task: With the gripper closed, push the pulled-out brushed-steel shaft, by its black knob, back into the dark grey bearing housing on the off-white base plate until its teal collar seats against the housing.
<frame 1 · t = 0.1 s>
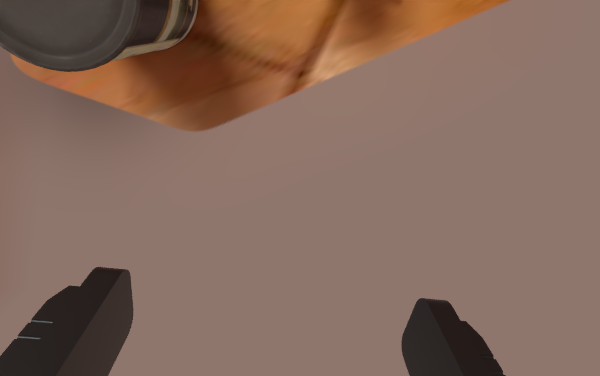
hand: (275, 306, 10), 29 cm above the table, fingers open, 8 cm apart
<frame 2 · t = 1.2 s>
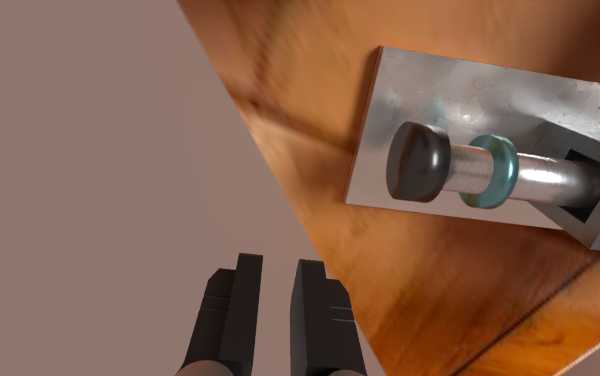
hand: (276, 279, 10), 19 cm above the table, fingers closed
housing: (571, 159, 30), on the table
shaft: (528, 178, 23), point 6 cm above the table, slide at 6.0 cm
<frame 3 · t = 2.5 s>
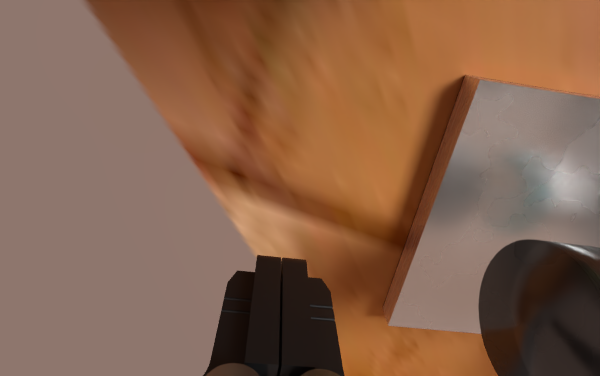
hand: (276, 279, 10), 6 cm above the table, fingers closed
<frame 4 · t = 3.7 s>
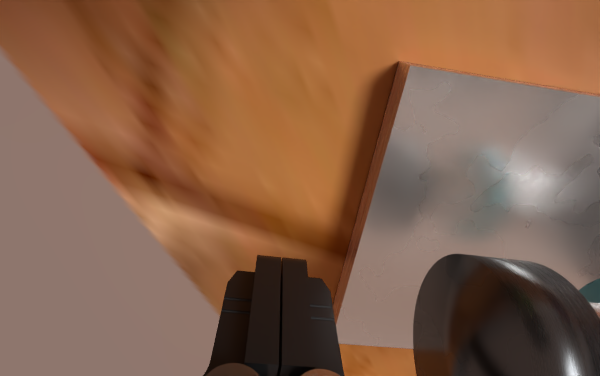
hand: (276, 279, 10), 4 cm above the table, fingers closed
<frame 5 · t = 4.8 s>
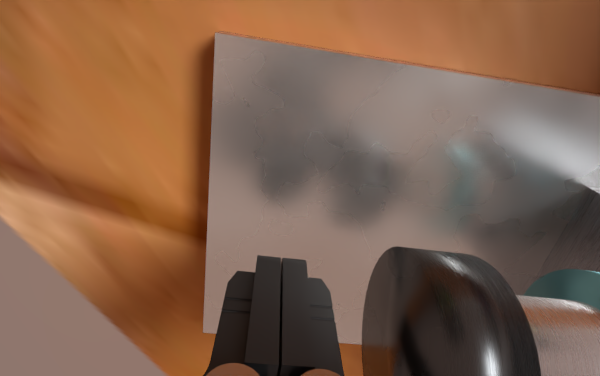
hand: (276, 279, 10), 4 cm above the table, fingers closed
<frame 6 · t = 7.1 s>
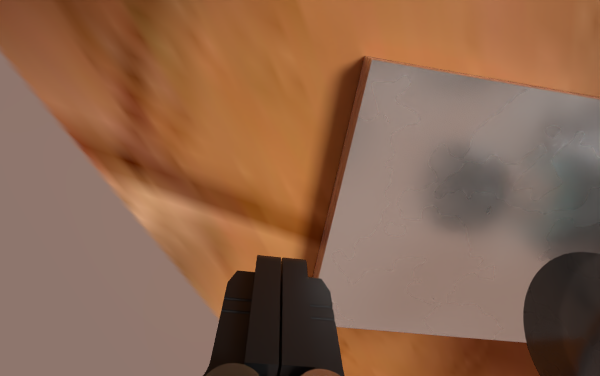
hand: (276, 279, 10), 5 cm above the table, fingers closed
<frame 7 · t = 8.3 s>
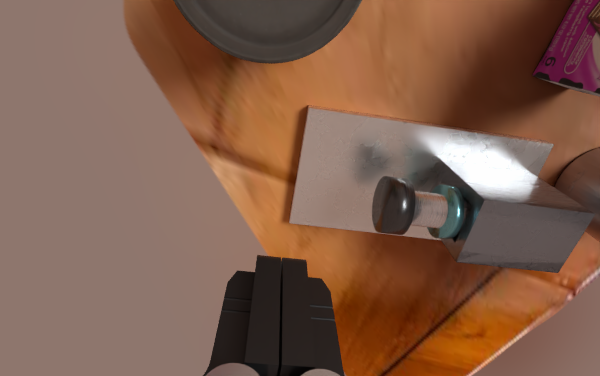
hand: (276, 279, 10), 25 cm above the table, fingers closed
housing: (469, 188, 38), on the table
candy bar box: (581, 22, 31), on the table
shaft: (475, 215, 32), point 6 cm above the table, slide at 0.0 cm
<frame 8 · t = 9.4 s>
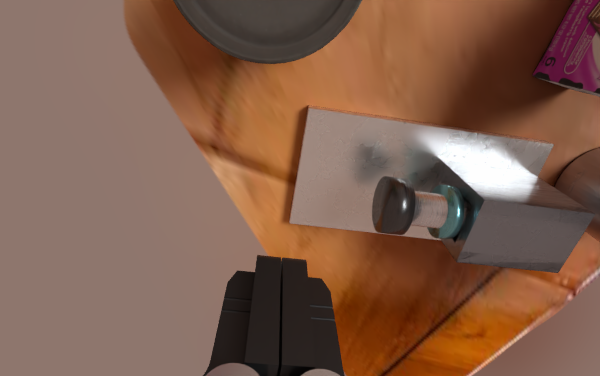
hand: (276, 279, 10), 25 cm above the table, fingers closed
housing: (469, 188, 38), on the table
candy bar box: (581, 22, 31), on the table
shaft: (476, 215, 32), point 6 cm above the table, slide at 0.0 cm
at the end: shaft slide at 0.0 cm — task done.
